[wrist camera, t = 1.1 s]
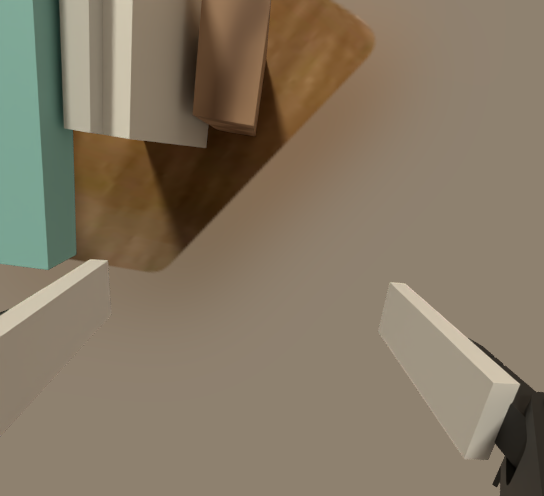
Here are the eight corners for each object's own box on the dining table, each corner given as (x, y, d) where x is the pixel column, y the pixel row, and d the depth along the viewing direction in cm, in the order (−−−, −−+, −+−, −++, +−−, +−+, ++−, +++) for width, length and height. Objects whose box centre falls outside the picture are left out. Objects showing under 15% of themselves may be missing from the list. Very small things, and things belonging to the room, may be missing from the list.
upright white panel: (142, 137, 47) (-82, 103, 16) (147, 10, 42) (-165, -394, 11) (206, 148, 48) (111, 136, 17) (218, 25, 43) (113, -310, 12)
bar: (32, 248, 21) (-4, 263, 18) (-3, -226, 14) (-69, -322, 11) (76, 254, 21) (48, 269, 19) (63, -209, 14) (15, -298, 12)
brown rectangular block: (217, 130, 47) (192, 114, 29) (226, 51, 44) (203, -22, 26) (255, 136, 48) (253, 125, 30) (266, 59, 45) (271, -7, 26)
